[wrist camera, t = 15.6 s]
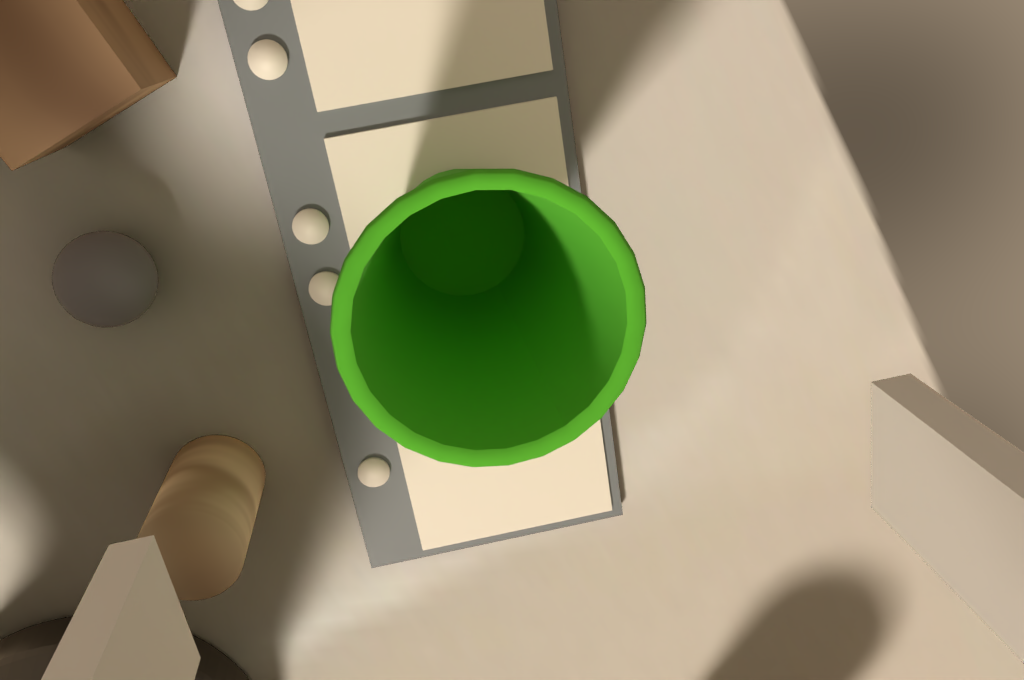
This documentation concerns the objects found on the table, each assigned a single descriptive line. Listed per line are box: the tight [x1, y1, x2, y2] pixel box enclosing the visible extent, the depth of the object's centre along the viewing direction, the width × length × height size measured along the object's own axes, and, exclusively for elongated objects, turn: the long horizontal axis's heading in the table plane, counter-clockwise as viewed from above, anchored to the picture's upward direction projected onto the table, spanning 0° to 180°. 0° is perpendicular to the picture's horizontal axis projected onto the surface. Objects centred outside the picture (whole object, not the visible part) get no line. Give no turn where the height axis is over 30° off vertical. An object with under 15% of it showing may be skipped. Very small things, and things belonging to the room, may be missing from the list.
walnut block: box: [0, 0, 177, 171], centre depth 29 cm, size 5×5×5 cm
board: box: [218, 0, 623, 568], centre depth 35 cm, size 12×30×1 cm, turn 9°
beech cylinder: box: [136, 435, 265, 601], centre depth 35 cm, size 4×4×6 cm
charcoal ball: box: [52, 231, 158, 327], centre depth 32 cm, size 4×4×4 cm
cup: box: [330, 169, 646, 467], centre depth 29 cm, size 9×9×11 cm
